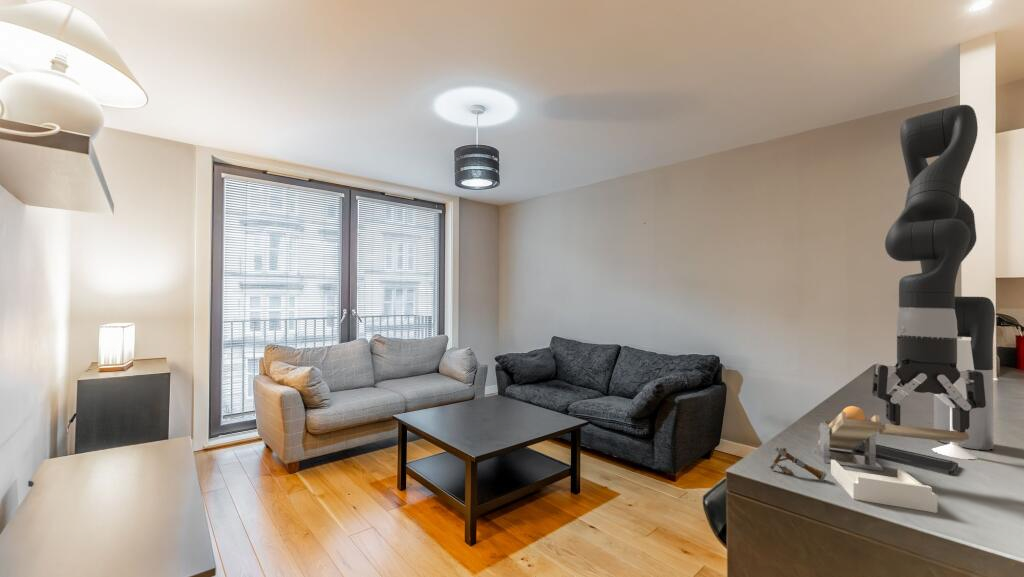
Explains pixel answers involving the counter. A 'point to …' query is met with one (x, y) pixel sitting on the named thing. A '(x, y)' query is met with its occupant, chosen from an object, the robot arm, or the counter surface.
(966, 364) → the champagne flute
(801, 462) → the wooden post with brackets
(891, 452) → the phone
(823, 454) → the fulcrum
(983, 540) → the counter surface
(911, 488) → the tray
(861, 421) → the lever
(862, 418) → the ball
